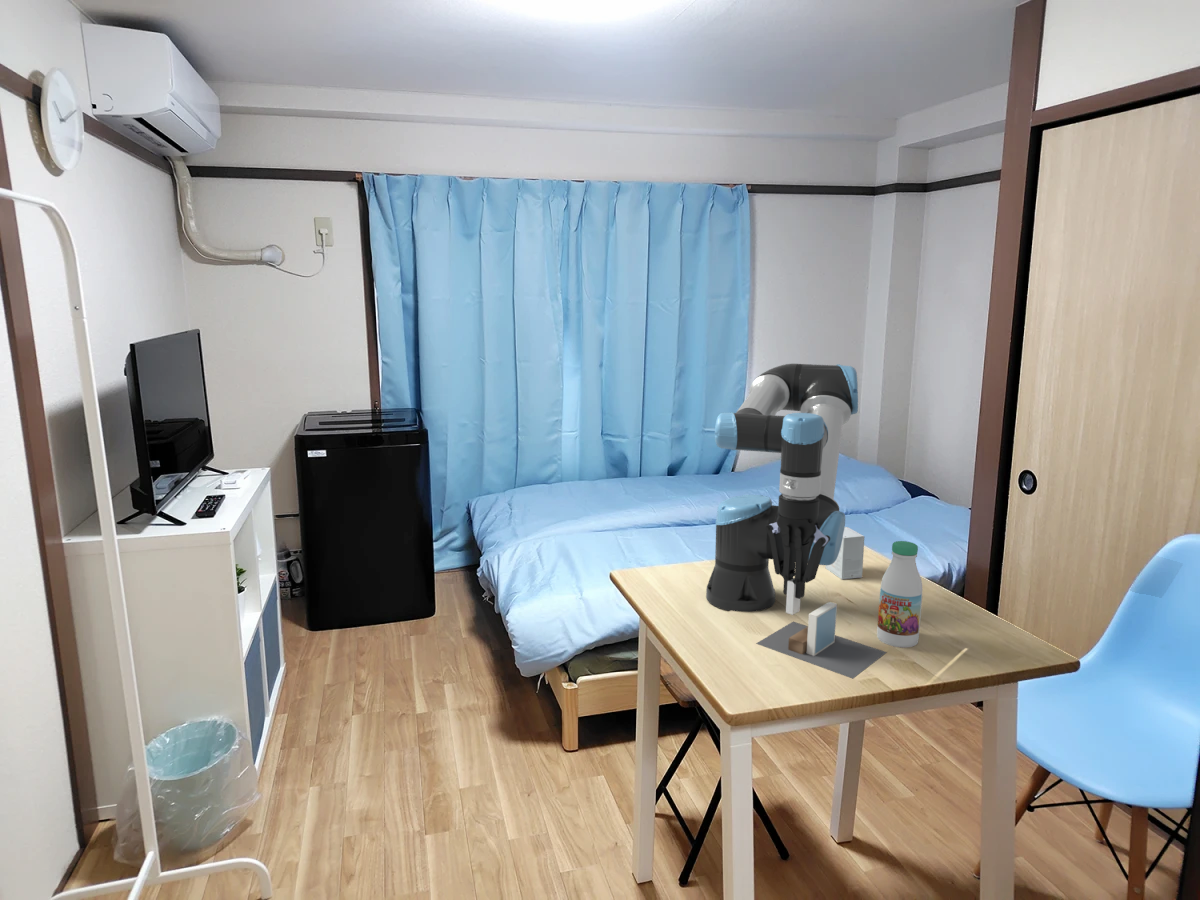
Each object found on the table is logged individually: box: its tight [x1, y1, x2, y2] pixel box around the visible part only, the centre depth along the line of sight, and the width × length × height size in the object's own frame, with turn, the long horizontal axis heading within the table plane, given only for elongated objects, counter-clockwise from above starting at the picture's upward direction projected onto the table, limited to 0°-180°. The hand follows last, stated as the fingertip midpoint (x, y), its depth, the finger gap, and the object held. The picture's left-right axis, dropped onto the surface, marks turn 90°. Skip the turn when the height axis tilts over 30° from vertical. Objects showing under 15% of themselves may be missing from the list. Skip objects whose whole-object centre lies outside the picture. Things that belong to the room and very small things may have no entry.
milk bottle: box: [876, 540, 923, 648], centre depth 152 cm, size 8×8×20 cm
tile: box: [807, 601, 838, 656], centre depth 149 cm, size 2×8×8 cm, turn 136°
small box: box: [825, 526, 865, 580], centre depth 188 cm, size 8×6×10 cm
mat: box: [755, 621, 888, 679], centre depth 150 cm, size 20×14×1 cm
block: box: [788, 625, 808, 655], centre depth 151 cm, size 3×10×2 cm, turn 136°
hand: (792, 611), depth 153 cm, fingers closed
